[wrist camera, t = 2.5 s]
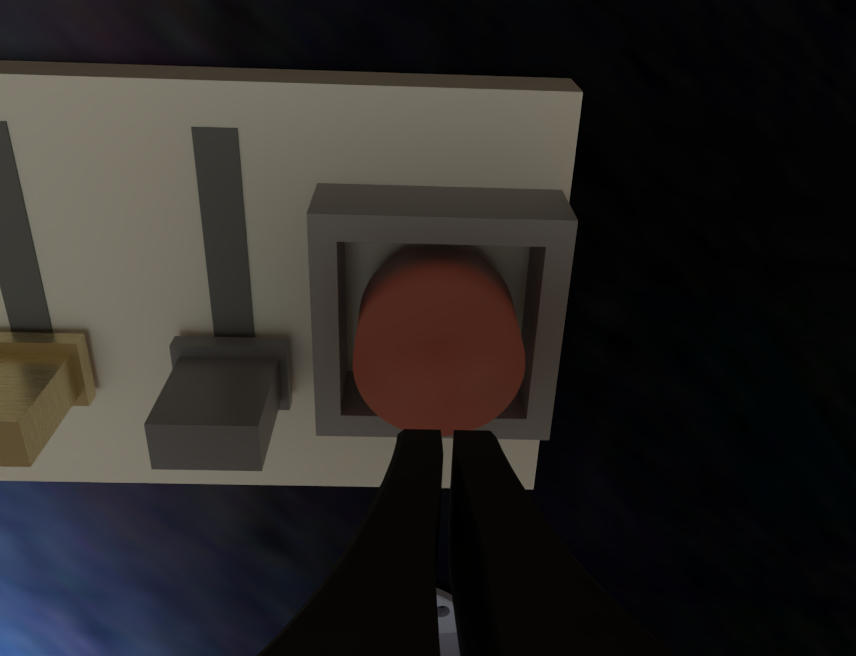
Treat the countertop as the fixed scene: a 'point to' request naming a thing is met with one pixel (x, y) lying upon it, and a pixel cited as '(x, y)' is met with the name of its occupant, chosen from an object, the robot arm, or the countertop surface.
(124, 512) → the countertop surface
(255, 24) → the countertop surface
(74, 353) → the yellow slider knob
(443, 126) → the panel
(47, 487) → the countertop surface
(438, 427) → the red button
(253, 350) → the grey slider knob
